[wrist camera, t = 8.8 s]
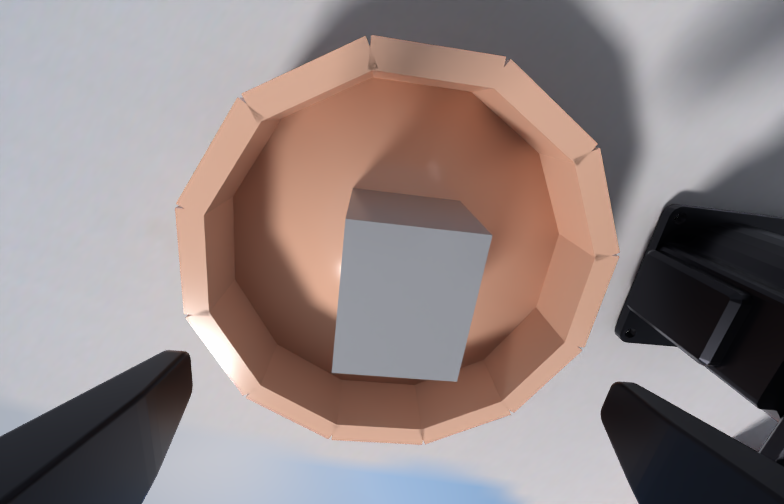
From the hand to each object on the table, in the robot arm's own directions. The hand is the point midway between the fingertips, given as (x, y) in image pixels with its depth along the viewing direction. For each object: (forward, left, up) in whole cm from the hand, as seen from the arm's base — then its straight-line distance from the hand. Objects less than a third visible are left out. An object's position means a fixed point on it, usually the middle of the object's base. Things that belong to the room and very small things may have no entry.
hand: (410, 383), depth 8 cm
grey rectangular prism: (0, 0, -7) cm, 7 cm away
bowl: (0, 0, -8) cm, 8 cm away
